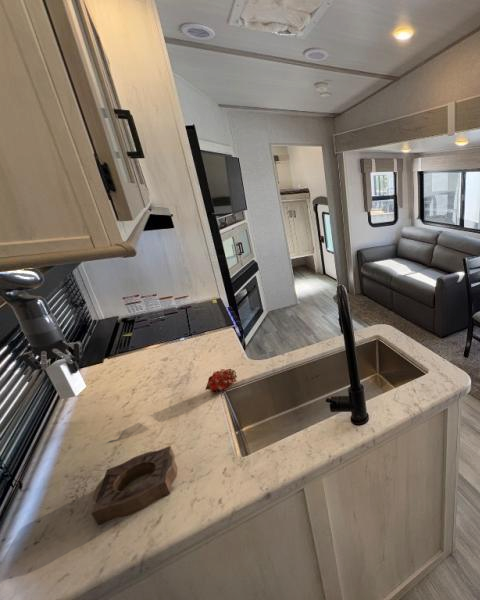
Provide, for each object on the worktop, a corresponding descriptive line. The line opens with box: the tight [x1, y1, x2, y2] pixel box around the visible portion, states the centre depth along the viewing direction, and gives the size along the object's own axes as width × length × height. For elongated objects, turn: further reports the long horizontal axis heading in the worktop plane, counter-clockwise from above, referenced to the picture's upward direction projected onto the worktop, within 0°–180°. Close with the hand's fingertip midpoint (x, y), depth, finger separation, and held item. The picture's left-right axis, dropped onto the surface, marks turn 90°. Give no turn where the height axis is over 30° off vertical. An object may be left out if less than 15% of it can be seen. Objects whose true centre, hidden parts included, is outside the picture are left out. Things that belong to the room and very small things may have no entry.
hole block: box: [90, 445, 178, 526], centre depth 80 cm, size 16×16×4 cm
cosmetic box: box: [45, 358, 87, 400], centre depth 103 cm, size 6×4×12 cm
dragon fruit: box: [204, 368, 238, 394], centre depth 118 cm, size 8×8×12 cm
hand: (64, 374), depth 103 cm, fingers closed on cosmetic box, 4 cm apart
